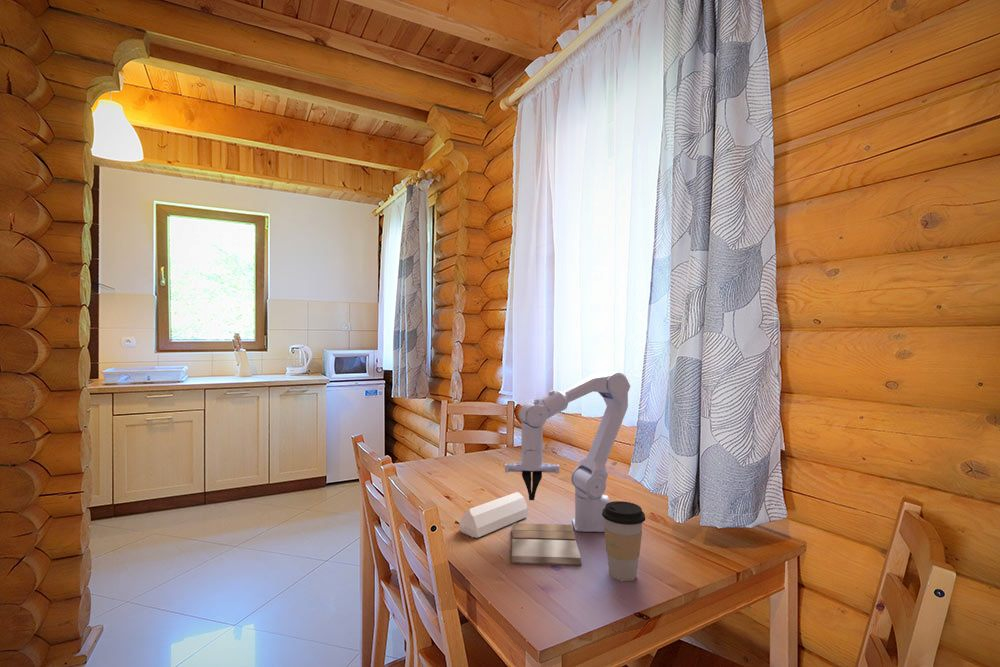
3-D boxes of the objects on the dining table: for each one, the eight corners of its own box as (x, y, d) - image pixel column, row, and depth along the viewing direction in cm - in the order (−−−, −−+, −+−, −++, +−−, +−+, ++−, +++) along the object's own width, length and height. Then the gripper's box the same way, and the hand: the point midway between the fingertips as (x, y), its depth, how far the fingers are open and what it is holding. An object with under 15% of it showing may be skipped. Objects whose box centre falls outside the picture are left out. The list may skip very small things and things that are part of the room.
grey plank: (575, 546, 116) (575, 540, 116) (580, 564, 107) (580, 557, 107) (512, 544, 117) (512, 538, 117) (511, 562, 108) (511, 555, 108)
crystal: (477, 529, 118) (537, 505, 136) (461, 509, 123) (521, 488, 140) (467, 550, 121) (527, 523, 138) (452, 529, 125) (511, 506, 142)
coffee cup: (593, 574, 104) (593, 506, 104) (615, 560, 110) (616, 497, 110) (631, 590, 97) (631, 518, 97) (652, 574, 103) (653, 507, 104)
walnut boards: (571, 530, 126) (571, 524, 126) (575, 544, 117) (575, 539, 117) (512, 528, 127) (513, 523, 127) (512, 543, 118) (512, 537, 118)
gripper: (557, 445, 128) (557, 494, 128) (505, 444, 129) (505, 493, 129) (560, 451, 121) (559, 503, 121) (504, 450, 122) (504, 502, 122)
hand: (531, 499), depth 124 cm, fingers closed
